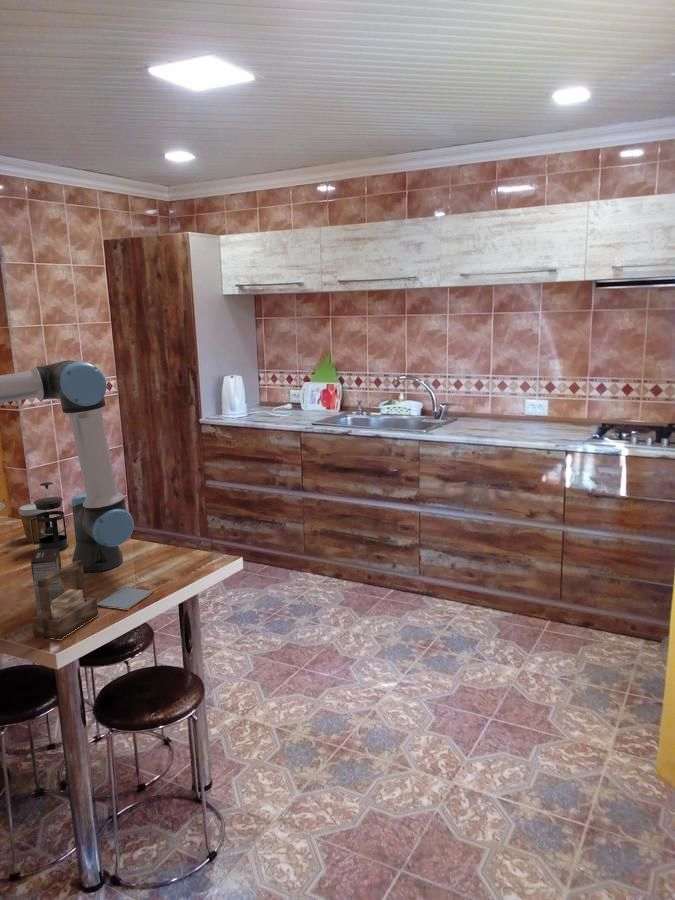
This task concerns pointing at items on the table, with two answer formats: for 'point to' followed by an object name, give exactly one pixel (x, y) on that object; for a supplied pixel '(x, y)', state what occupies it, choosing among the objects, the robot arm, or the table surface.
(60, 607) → the offcut rack
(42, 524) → the disposable coffee cup
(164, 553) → the table surface
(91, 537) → the robot arm
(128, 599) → the slate mat
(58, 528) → the french press
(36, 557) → the coffee box
